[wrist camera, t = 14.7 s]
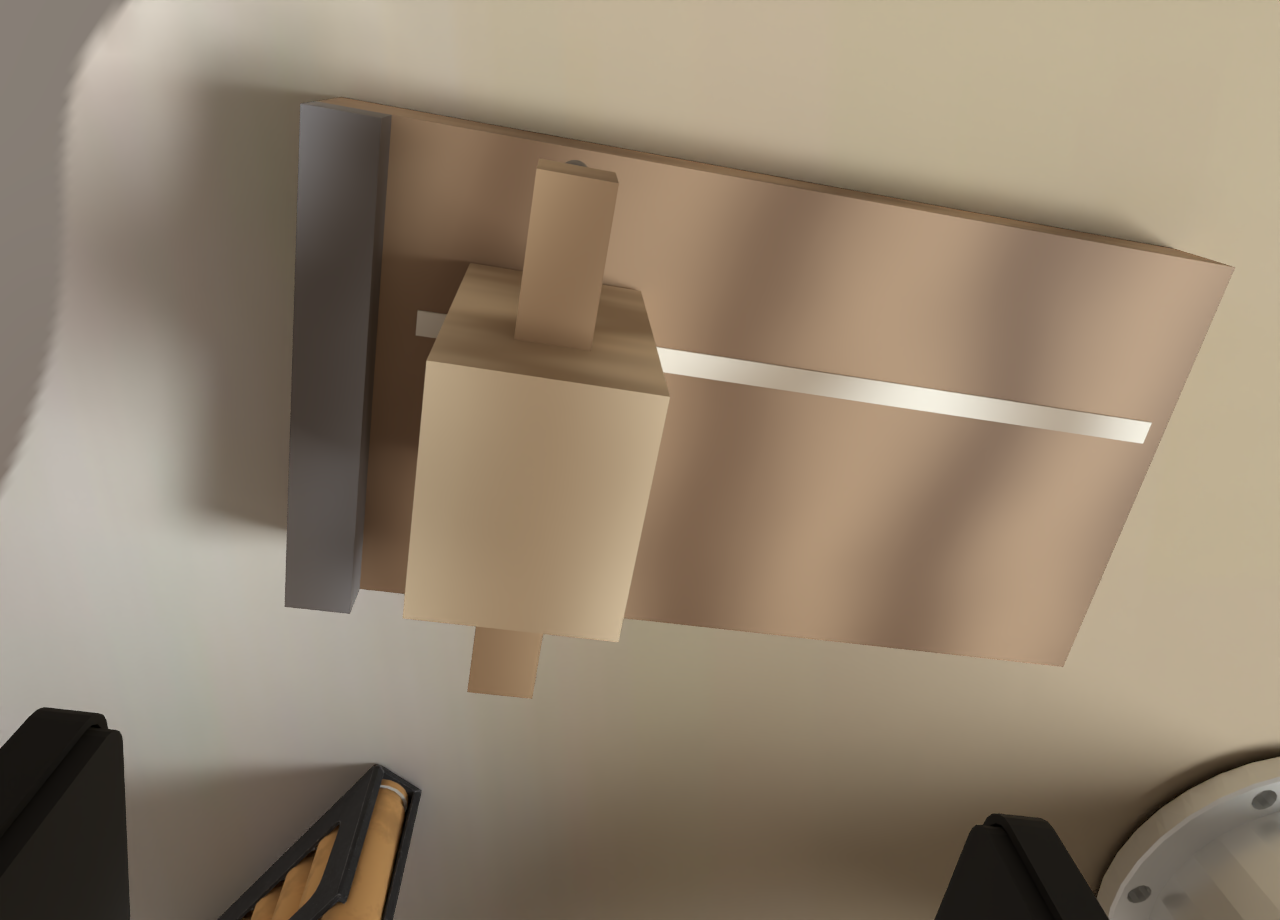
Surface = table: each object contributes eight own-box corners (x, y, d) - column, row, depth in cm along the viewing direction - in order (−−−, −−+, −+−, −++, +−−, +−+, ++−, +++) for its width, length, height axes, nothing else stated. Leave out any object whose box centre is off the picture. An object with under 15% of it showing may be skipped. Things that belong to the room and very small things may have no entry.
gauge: (665, 159, 20) (708, 215, 14) (587, 577, 25) (592, 763, 18) (484, 126, 20) (444, 168, 13) (437, 559, 24) (391, 745, 18)
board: (1175, 249, 25) (1269, 278, 21) (1025, 621, 29) (1084, 692, 26) (341, 96, 22) (300, 103, 18) (320, 538, 26) (284, 606, 23)
